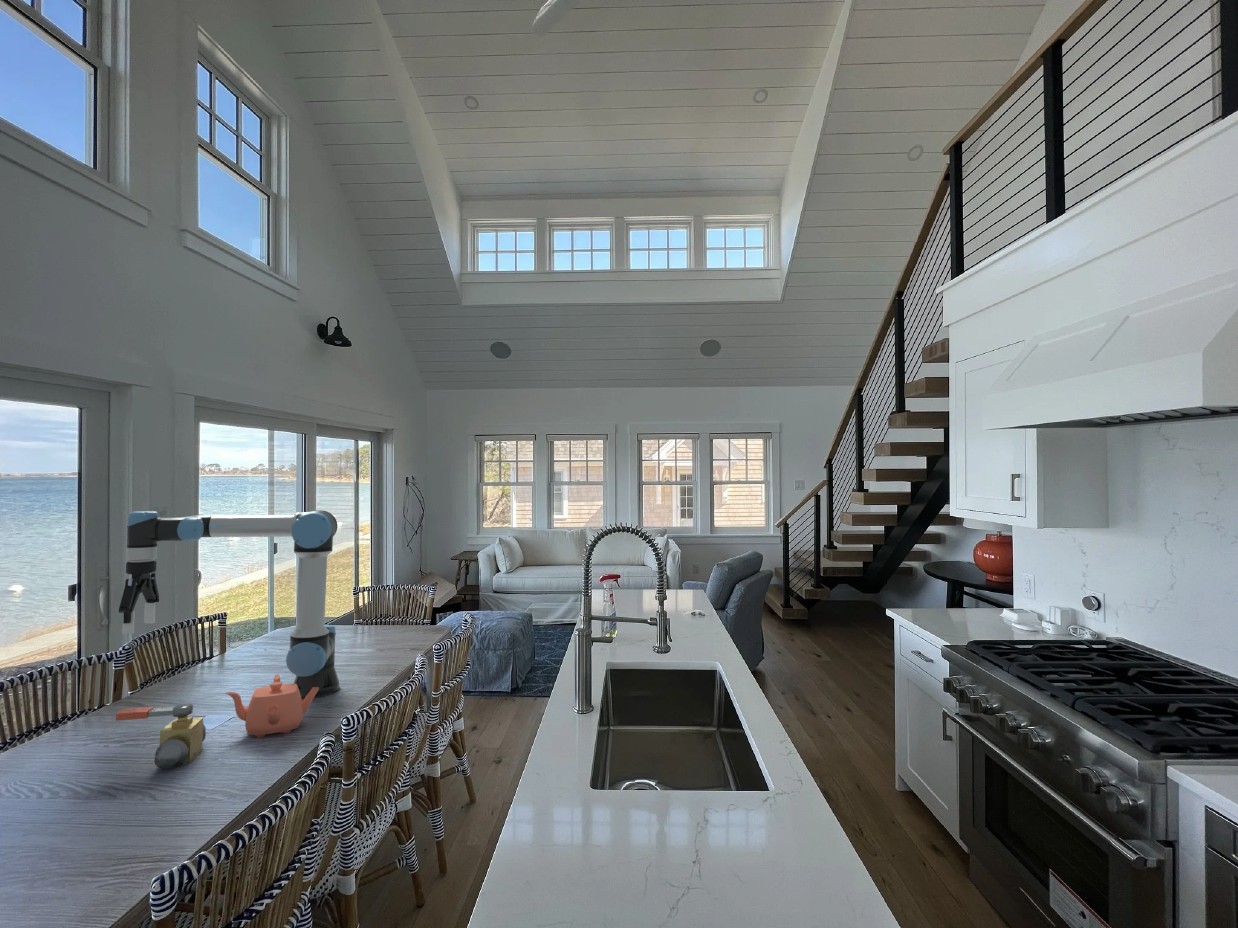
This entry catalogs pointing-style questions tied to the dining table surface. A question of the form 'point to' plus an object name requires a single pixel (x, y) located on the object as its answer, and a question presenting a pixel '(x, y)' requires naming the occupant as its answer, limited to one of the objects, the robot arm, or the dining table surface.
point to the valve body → (180, 742)
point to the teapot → (273, 708)
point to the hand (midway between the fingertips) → (139, 628)
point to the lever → (154, 712)
